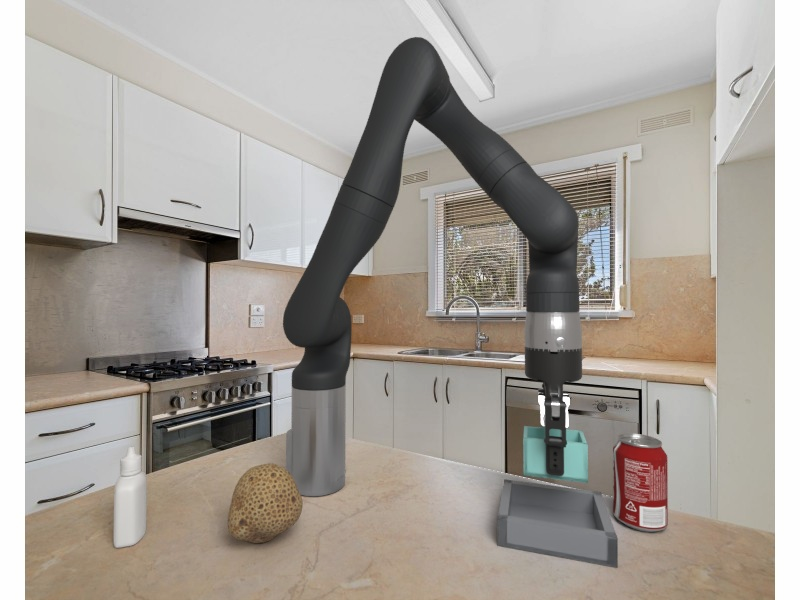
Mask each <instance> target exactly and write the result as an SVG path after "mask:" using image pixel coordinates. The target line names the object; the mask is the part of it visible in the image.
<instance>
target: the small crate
mask: <svg viewBox="0 0 800 600" xmlns="http://www.w3.org/2000/svg"><path fill="white" fill-rule="evenodd" d="M549 436H558V437H561V436H560V430H559V429H550V430H549ZM522 438H523V439H522V444H523V445H522V446H523V447H522V448H523V450H522V451H523V454H522V455H523V456H522V458H523V470H522V471H523V476H525V477H534V478H542V479H550V480H551V479H552V480H557V481H558V480H560V481H567V482H576V483H584V484H589V459H588V456H589V455H588V453H589V452H588V450H589V448H588V447H589V446H588V442H587V439H586V437H585V434H584V431H583V430H577V429H576V430H575V429H568V428H567V429H566V440H567V445H566V447H565V448H564V474H563V475H562V476H557V475H549V474H548V473H547V472H546V446H545V443H544V438H545V429H544V428H543V427H542V426H541V427H540V426H529V425H524V426H523V437H522Z"/></svg>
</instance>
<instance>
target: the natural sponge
mask: <svg viewBox="0 0 800 600" xmlns="http://www.w3.org/2000/svg"><path fill="white" fill-rule="evenodd" d="M234 487H235V488H234V490H233V494H232V496H231V500H230V501H231V502H230V505H229V510H228V515H227V529H228V532H229V534H230V536H231V537H233V538H234V539H236V540H239V541H246V542H249V543H254V544H262V543H263V544H264V543H266V542H270V541H271V540H273V539H274V538H275V537H276V536H277V535H279V534H281V533H283V532H285V531H286V530H288V529H290V528H291V527H292V526H293V525H294V524H295V523H297V521H298V520H299V519H300V516H301V514H302V512H303V498H302V495H300V493H299V491H298V488H297V485H296V483H295V480H294V479H293V477H292V475H291V474H290V473H289V472H288V471H287V470H286V468H284V467H283V466H281V465H279V464H277V463H272V462H270V463H264V464H260V465H259V464H258V465H255V466H252V467H250V468H249V469H247V470H246V471H245V472H244V473H243V475H241V476H240V477H239V479H238V481H237V483H236V484H235V486H234Z"/></svg>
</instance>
